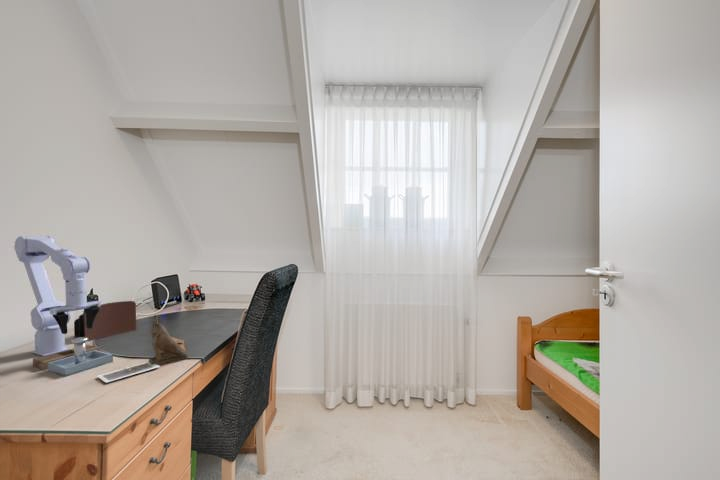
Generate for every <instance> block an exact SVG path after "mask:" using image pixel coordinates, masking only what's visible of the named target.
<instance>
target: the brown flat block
mask: <svg viewBox="0 0 720 480" xmlns="http://www.w3.org/2000/svg"><path fill="white" fill-rule="evenodd" d="M100 348H101V347H99V346H95V345H91V344H86V352H89V351H93V350H98V351H101V350H100ZM71 356H74V347H73V348H70V349H69V350H65V351H61V352H57V353H53V354H49V355H45V356H42V355H41V356H39V357H34V358H32V366H33V367H34V368H37V369H40V370H43V371H48V363H49V362H53V361H56V360H60V359H64V358H67V357H71Z"/></svg>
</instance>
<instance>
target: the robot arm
mask: <svg viewBox="0 0 720 480" xmlns="http://www.w3.org/2000/svg"><path fill="white" fill-rule="evenodd" d="M13 247H14V248H13V249H14V252H15V254H16V257H17V259H18V261H19V262H22V263H23V265H24V267H25V271H26V274H27V276H28V280H29V282H30V286H31V288H32V291H33V294H34V297H35V301H36V303H37V305H36V306H34V308H33V309H31V311H30V317H31V318H30V320H31V326H32V327H33V328H34V329H35V330H36V331H35V333H34V350H32V351H31V353H33V354H35V355H38V356H41V357H42V356H45V355H49V354H53V353H57V352H61V351H65V350H69V349H71V348H70V347H67V346H66V335H67V334H68V323H70V321H71V318H72V315H71V312H74V311H79V310H83V311H84V310H85V313H86V326H87V328H92V326H93V322H94V319H95V317H96V315H97V313H98V311H99V308H98V307H100V306H101V305H102V303H101V300H94V301H88V299H87V274H88V273H89V271H90V268H91V263H90V261H89V259H88V258H87V257H86V256H81V257H80V256H77V255H76V254H75V253H72V252H71V251H69V249H68V248H66V247H65V248H60V247H59V246H58V245H56V243H55V239H54V237H52V236H50V235H46V236H43V235H42V236H41V235H40V236H38V235H37V236H33V235H32V236H24V235H20V236H18V237H16V239H15V241H14V246H13ZM49 258H50V260H51V262H53V263H54V264H55V265H57V266H58V267H60V272H61V274H62V278H63V280H64V281H65V289H64V290H65V302H63V301H60V300H58V299H56V298H55V293H54V292H53V289H52V286H51V283H50V280H49V276H48V274H47V272H46V269H45V266H44V262H45V261H47V260H49Z"/></svg>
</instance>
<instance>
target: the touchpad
mask: <svg viewBox="0 0 720 480" xmlns="http://www.w3.org/2000/svg"><path fill="white" fill-rule="evenodd" d="M161 366H162V365H157V364H152V365H151V364H150V363H149V361H146V362H142V363H139V364H135V365H131V366H128V367H124V368H121V369H120V368H119V369H118V370H113V371H109V372H106V373H103V374H98V375H96V378H98V379H100V380H101V381H103V382H104V383H110V382H114V381H117V380H120V379H123V378H126V377H131V376H133V375H136V374H137V375H138V374H141V373H144V372H147V371H150V370H154V369H157V368H160V367H161Z"/></svg>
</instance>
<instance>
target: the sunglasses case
mask: <svg viewBox="0 0 720 480" xmlns="http://www.w3.org/2000/svg"><path fill="white" fill-rule="evenodd" d="M171 338H172V339H173V340H174V341H175V342H176V343H177V344H178V345H180V346H181V347H182V348H183V349H184V350H185V351H186V352H187V351H188V350H187V349H186V345H185V342H186V341H185V340H183V339H179V338H176V337H174V336H171ZM187 353H188V352H187Z"/></svg>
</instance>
